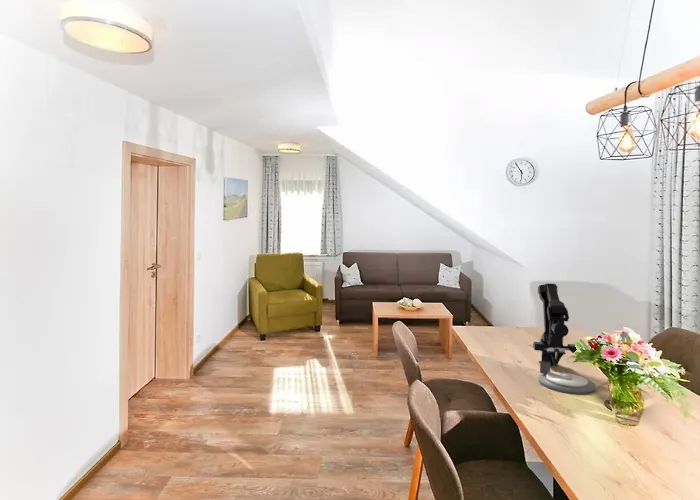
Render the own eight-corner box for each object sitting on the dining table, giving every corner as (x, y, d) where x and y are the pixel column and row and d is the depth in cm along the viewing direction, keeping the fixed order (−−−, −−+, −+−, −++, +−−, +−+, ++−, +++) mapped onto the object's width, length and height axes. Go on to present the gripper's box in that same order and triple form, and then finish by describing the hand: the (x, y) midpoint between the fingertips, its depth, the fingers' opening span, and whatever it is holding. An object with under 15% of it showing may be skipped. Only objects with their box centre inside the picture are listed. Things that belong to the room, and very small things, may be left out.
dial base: (558, 373, 202) (558, 370, 202) (606, 388, 183) (606, 384, 183) (527, 381, 190) (528, 377, 190) (576, 397, 172) (576, 393, 171)
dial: (595, 382, 184) (595, 369, 184) (574, 389, 176) (575, 375, 175) (552, 370, 201) (552, 358, 200) (531, 376, 192) (531, 363, 192)
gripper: (574, 329, 202) (573, 362, 202) (531, 327, 207) (530, 359, 207) (580, 334, 191) (579, 370, 192) (535, 332, 196) (534, 366, 196)
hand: (555, 366), depth 197 cm, fingers closed
